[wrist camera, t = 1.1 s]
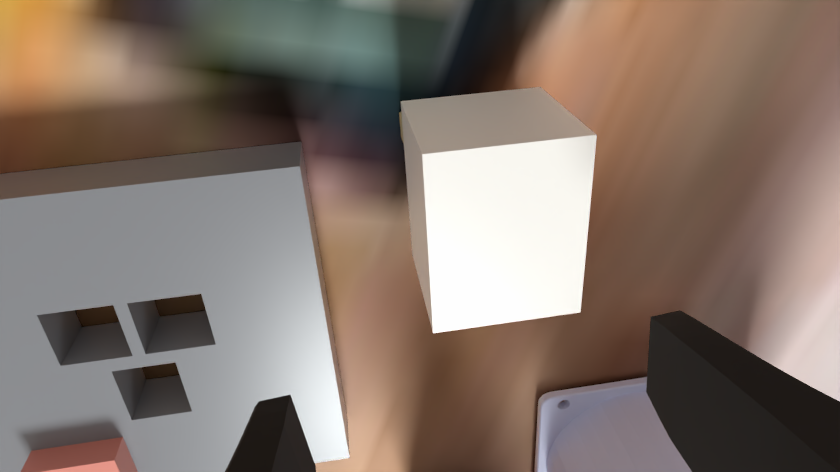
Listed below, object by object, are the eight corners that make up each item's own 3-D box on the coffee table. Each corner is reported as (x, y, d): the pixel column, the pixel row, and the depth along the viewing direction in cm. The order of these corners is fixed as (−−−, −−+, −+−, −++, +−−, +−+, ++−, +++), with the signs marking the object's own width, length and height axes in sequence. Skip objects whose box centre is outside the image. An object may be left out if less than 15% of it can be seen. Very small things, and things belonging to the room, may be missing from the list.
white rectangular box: (521, 71, 19) (596, 134, 14) (518, 214, 21) (580, 312, 16) (393, 83, 18) (422, 153, 13) (405, 228, 21) (433, 333, 16)
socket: (301, 141, 19) (298, 180, 16) (347, 418, 25) (350, 479, 22) (-116, 186, 17) (-190, 236, 15) (39, 465, 23) (4, 536, 21)
